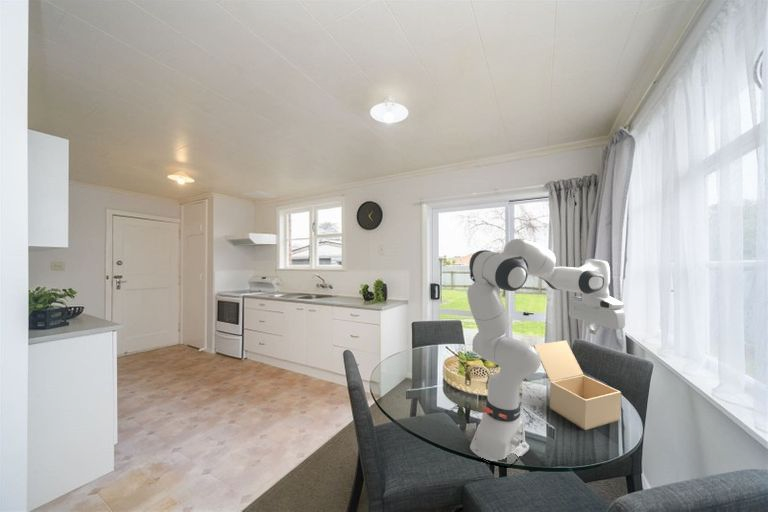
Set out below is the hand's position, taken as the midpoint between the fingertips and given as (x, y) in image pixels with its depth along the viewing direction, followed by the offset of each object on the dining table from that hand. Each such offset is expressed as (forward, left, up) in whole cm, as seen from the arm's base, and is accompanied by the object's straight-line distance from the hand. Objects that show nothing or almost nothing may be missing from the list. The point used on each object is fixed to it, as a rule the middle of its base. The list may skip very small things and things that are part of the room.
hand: (593, 334), depth 117 cm
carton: (+6, +3, -37) cm, 38 cm away
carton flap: (+12, +14, -18) cm, 26 cm away
